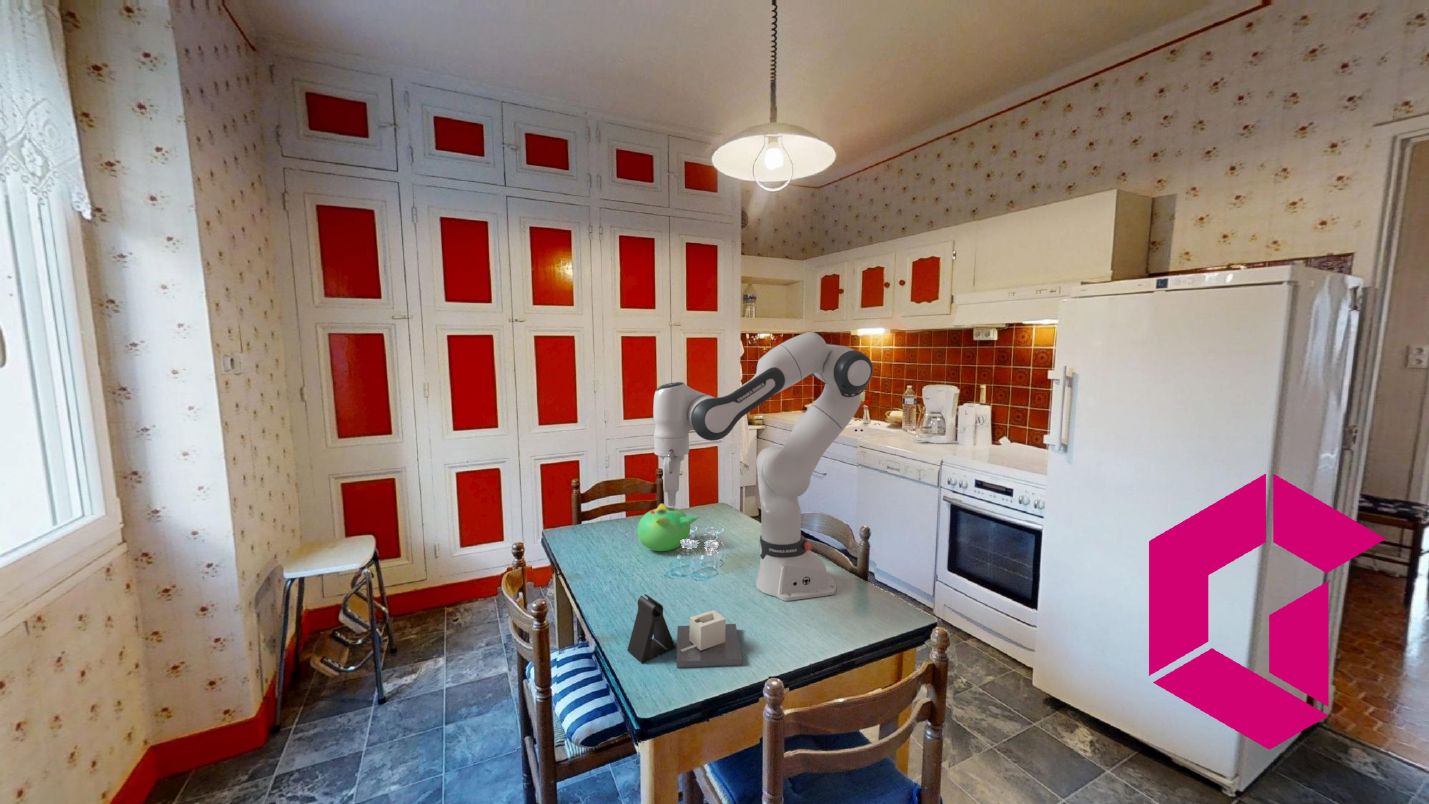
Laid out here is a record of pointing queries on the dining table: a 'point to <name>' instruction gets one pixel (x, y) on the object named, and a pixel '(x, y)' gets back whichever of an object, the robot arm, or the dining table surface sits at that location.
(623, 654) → the dining table surface
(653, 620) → the black a-frame stand
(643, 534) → the green bird toy
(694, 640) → the hollow rectangular block
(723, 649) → the grey square base
